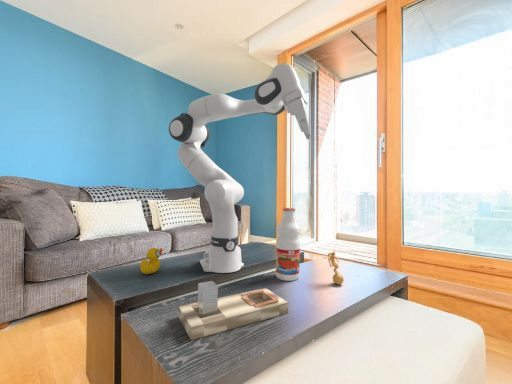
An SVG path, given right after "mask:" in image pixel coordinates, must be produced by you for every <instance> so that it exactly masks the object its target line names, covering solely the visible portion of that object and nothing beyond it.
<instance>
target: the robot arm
mask: <svg viewBox="0 0 512 384" xmlns="http://www.w3.org/2000/svg"><path fill="white" fill-rule="evenodd" d="M300 83H301V82H300V79H299V77H298V73H297V72H296V70H295V68H294V66H293V65H291V64H290V63H285V62H284V63H283V62H282V63H279V64H277V65H276V64H275V66H274V67H273V68H272V71H271V72H270V74H269V75H268V76H267V77H266V78H265V79H264V80H263V81H262V82H260V83H259V84H258V85H257V86H256V87H255V90H254V99H247V100H242V99H237V98H235V97H233V96H230V95H228V94H225V93H211V94H208V95H205V96H202V97H199V98H197V99H195V100H193V101H191V103H189V105H188V108H187V109H188V113H186V112H182V113H181V114H179V115H178V116H176V117H174V118H173V119H172V120H171V122H169V126H168V133H169V135H170V137H171V138H172V139H173V140H175V141H177V142H179V143H181V145H180V146H179V148H178V149H177V152H176V153H177V157H178V159H179V161H180V163H181V164H182V165H183V167H185V169H186V170H187V171H188V172H189V174H191V176H192V177H193V178H194V179H195V180H196V181H197V182H198V183H199V184H200V185H202V186H204V187H205V188H204V198H205V200H206V201H207V203H208V204H209V209H210V213H211V219H212V233H211V234H212V235H211V237H210V245H209V246H208V247H207V248H206V249H205V250H204V251H205V252H203V253H202V258H203V259H200V260H199V263H200V266H201V268H202V270H203V272H206V273H207V272H208V273H215V274H216V273H217V274H218V273H219V274H226V273H233V272H237V271H240V270H241V268H243V267H244V266H245V265H244V262H242V249H241V247H240V246H239V241H240V240H239V235H238V230H239V229H238V228H239V227H238V225H239V219H238V218H239V217H237V213H236V210H235V206H234V205H235V204H238V203H239V202H240V201H241V200H242V199H243V198H244V195H245V189H244V187H243V186H242V185H241V183H240V182H238V181H236V180H235V179H234V178H233V177H232V176H231V175H230V174H228V173H227V172H226V171H224V170H223V169H222V168H220V167H219V166H218V165H217V164H216V163H215V162H214V161H213V160H212V158H210V157H209V156H208V155H207V154H206V153H205V152H204V151H203V150H202V149H203V148H204V147H205V146H206V144H207V142H208V141H209V139H210V136H211V132H210V129H209V127H208V126H207V124H209V123H213V122H217V121H222V120H226V119H232V118H237V117H244V116H250V115H258V114H269V115H274V116H277V115H280V114H282V113H284V111H285V112H286V113H287V114H290V115H291V116H294V117H295V119H296V122H297V125H298V127H299V130H300V131H301V132H302V133H303V134H304V137H305V139H306V140H307V141H308V140H310V139H311V134H310V126H309V125H310V124H309V121H308V115H307V111H306V110H307V106H308V104H309V101H308V99H307V96H306V95H305V92H304V89H303V87H301V84H300Z"/></svg>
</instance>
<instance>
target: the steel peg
mask: <svg viewBox="0 0 512 384" xmlns="http://www.w3.org/2000/svg"><path fill="white" fill-rule="evenodd" d="M218 298H219V285H218V284H217V283H215V282H214V281H213V280H210V281H209V280H208V281H203V282H198V283H197V302H198V316H199V318H204V317H208V316H212V315H217V309H218Z"/></svg>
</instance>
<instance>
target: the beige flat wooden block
mask: <svg viewBox="0 0 512 384" xmlns="http://www.w3.org/2000/svg"><path fill="white" fill-rule="evenodd" d="M288 313H289V302H288V301H287V300H285V299H283V298H282V297H280V296H279V295H277V294H276V293H274V292H273V291H271V290H270V289H269V288H266V287H264V288H259V289H255V290H250V291H244V292H241V293H240V292H239V293H237V294H236V293H235V294H231V295H226V296H221V297H218V309H217V315H212V316H208V317H204V318H199V316H198V301H197V302H193V303H189V304H184V305H179V306H178V319H179V320H180V323H181V324H182V326H183V328H184V330H185V332H186V333H187V335H188V337H189V340H190V341H194V340H197V339H200V338H203V337H208V336H211V335H215V334H218V333H222V332H226V331H228V330H232V329H235V328H239V327H240V328H241V327H242V326H247V325H250V324H253V323H257V322H261V321H264V320H268V319H271V318H275V317H278V316H281V315H285V314H288Z"/></svg>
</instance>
